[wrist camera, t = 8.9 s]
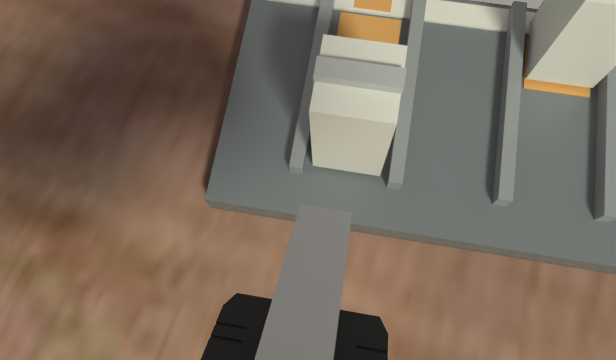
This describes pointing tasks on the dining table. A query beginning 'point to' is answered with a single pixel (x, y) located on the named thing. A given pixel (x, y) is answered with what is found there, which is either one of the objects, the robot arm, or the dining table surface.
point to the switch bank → (428, 133)
